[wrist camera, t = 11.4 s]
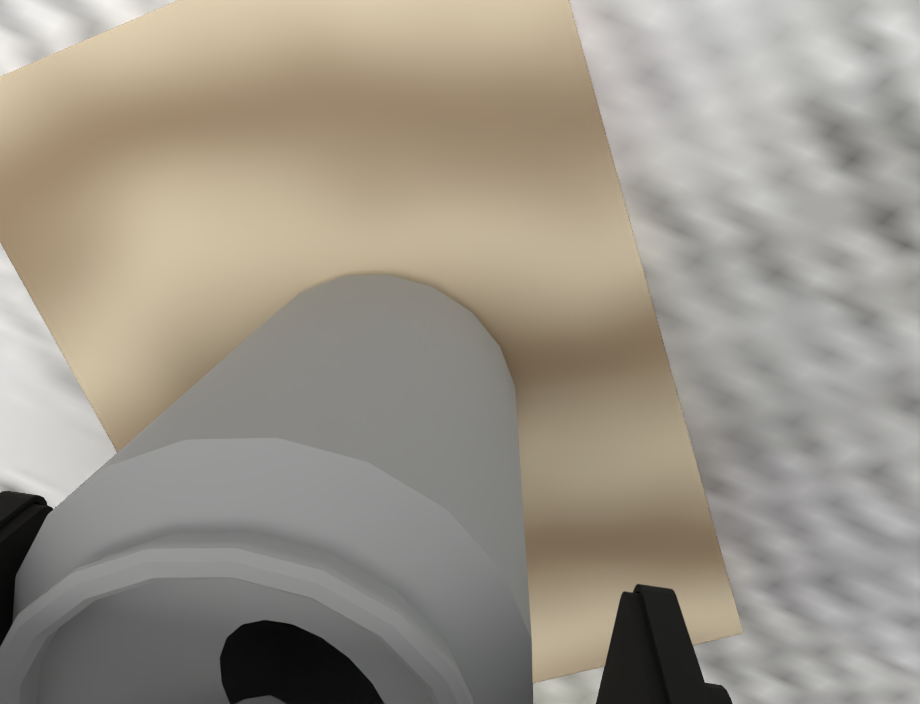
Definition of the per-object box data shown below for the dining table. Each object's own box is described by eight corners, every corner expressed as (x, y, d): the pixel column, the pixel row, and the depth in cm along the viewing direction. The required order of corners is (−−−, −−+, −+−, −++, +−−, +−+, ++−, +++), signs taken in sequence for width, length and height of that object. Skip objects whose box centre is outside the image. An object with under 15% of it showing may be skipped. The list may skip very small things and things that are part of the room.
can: (563, 445, 20) (651, 889, 8) (344, 550, 21) (169, 1046, 10) (430, 215, 18) (313, 386, 7) (199, 347, 19) (-221, 674, 8)
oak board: (728, 601, 23) (743, 633, 22) (291, 708, 25) (279, 743, 24) (525, -128, 17) (527, -150, 15) (-32, 108, 19) (-75, 108, 18)
